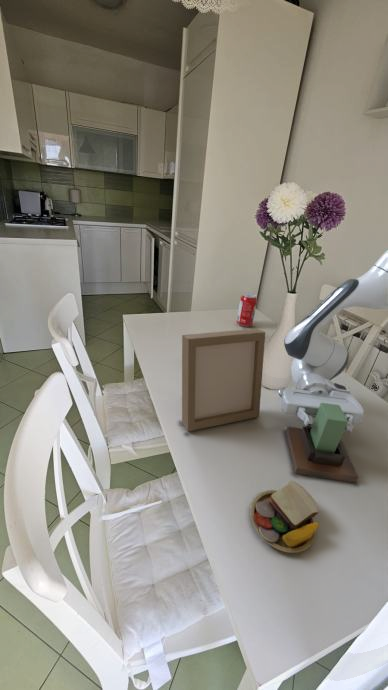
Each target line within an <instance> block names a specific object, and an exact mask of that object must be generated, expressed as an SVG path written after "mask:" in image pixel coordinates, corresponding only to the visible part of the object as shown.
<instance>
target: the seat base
mask: <svg viewBox="0 0 388 690" xmlns="http://www.w3.org/2000/svg"><path fill="white" fill-rule="evenodd" d="M311 428H312V426H307V425H304V426H302V427H296V426H295V427H294V426H288V425H287V426H286V428H285V436H286V441H287V446H288V450H289V453H290V454H289V455H290V457H291V461H292V466H293V470H294V474H297V475H303V476H308V477H316V478H321V479H329V480H335V481H341V482H348V483H354V484H355V483H357V480H358V479H359V475H358V473H357V471H356V469H355V467H354V464H353V462H352V459H351V458H350V455H349V453H348V450H347V448H346V446H345V444H344V442H343V440H342V438H341V439H340V441H339V444H338V446H337V448H336V451H335V453H328V452H321V451H314V448H313V445H312V441H311V438H310V435H309V433H310V431H311Z"/></svg>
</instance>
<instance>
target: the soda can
mask: <svg viewBox="0 0 388 690" xmlns="http://www.w3.org/2000/svg"><path fill="white" fill-rule="evenodd" d="M257 304H258V297H257V295H256V294H255V293H251V292H244V293H243V294H242V295H241V296H240V300H239V306H238V311H237V316H236V323H237V324H238V325H239V326H241V327H243V328H244V327H245V328H246V327H252V325H253V323H254V319H255V314H256V309H257Z"/></svg>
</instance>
